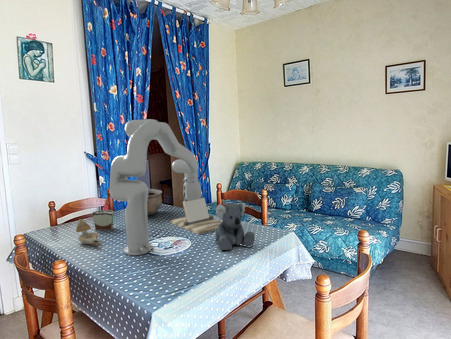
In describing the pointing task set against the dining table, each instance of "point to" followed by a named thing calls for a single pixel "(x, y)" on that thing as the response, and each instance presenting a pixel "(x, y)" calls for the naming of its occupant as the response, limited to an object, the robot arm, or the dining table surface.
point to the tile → (196, 210)
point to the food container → (103, 219)
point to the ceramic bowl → (153, 201)
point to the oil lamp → (86, 237)
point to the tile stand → (197, 225)
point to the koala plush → (232, 227)
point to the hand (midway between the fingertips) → (192, 210)
